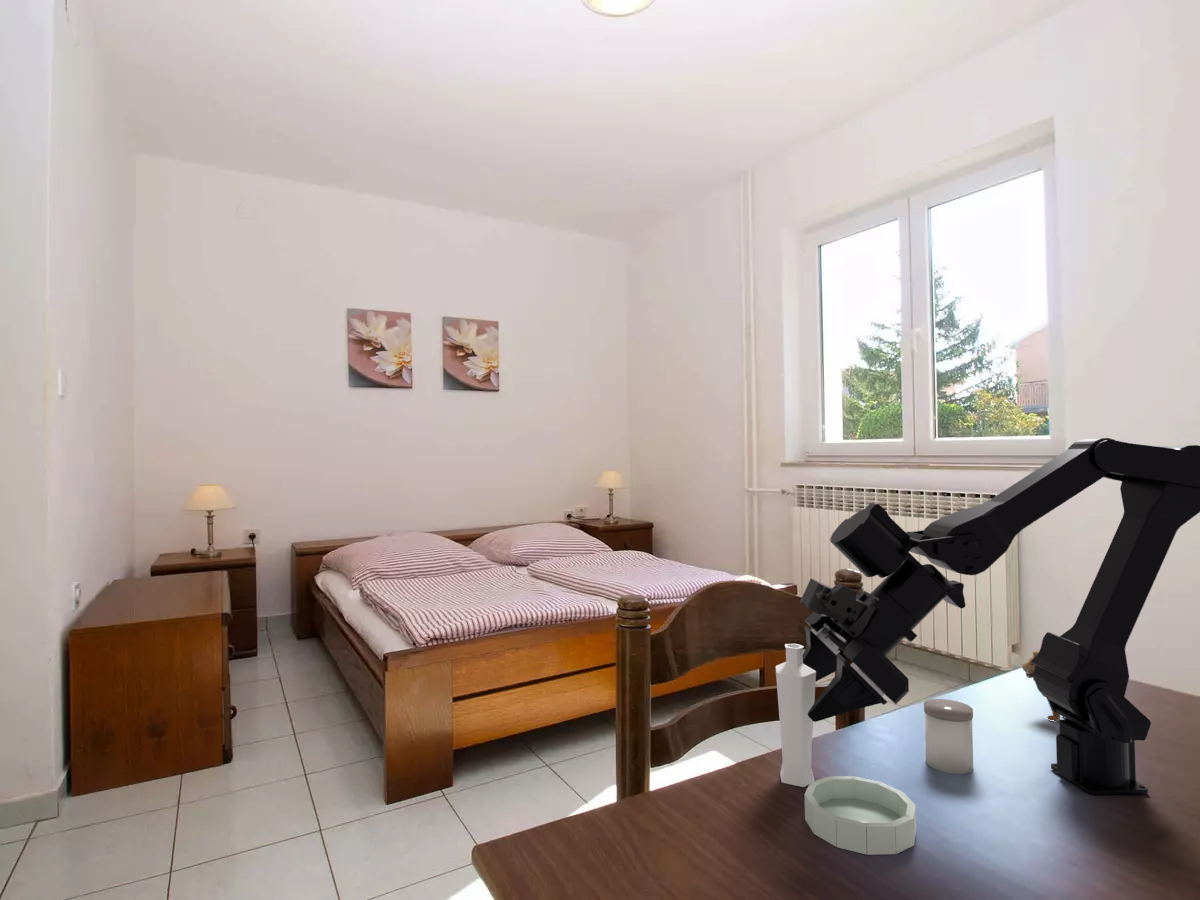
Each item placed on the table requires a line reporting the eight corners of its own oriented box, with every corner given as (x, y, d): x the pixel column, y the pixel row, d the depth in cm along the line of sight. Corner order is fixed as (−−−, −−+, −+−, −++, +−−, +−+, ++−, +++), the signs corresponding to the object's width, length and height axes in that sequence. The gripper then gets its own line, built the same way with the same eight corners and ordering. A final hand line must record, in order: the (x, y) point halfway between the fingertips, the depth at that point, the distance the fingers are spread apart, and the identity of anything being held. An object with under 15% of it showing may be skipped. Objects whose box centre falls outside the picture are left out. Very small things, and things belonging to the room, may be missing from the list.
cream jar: (958, 754, 82) (957, 698, 82) (983, 773, 77) (982, 714, 77) (916, 755, 82) (915, 699, 82) (939, 774, 77) (937, 714, 77)
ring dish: (887, 799, 71) (886, 775, 72) (935, 853, 61) (935, 825, 62) (793, 800, 71) (793, 777, 71) (827, 855, 61) (826, 827, 61)
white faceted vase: (820, 790, 74) (817, 652, 74) (779, 786, 75) (776, 650, 75) (815, 771, 78) (813, 641, 78) (776, 768, 79) (774, 640, 79)
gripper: (820, 546, 86) (734, 632, 86) (875, 568, 67) (765, 678, 68) (884, 608, 86) (797, 694, 86) (956, 647, 67) (845, 758, 67)
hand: (799, 703), depth 77 cm, fingers open, 9 cm apart
